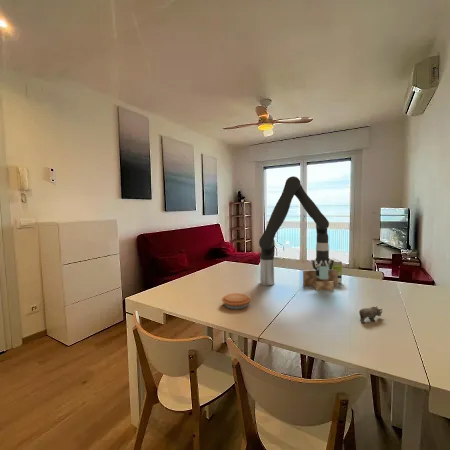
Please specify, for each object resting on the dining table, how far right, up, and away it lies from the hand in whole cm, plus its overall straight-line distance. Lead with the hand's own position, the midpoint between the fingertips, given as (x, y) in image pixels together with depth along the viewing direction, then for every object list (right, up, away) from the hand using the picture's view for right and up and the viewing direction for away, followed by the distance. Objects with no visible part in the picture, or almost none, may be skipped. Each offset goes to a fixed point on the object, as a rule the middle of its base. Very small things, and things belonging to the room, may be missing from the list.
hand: (322, 275), depth 161 cm
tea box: (+12, -7, +16) cm, 21 cm away
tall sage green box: (0, -1, 0) cm, 1 cm away
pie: (-56, -11, -26) cm, 63 cm away
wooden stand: (0, -8, +1) cm, 8 cm away
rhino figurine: (+4, -11, -48) cm, 49 cm away
